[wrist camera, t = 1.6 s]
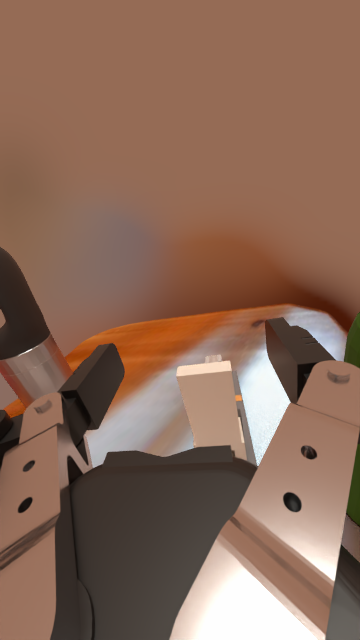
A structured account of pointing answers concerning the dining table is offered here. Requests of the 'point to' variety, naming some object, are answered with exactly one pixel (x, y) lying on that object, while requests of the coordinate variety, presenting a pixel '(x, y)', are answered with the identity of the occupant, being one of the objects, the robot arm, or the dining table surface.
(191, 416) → the peach lever handle
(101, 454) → the dining table surface
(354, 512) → the wine bottle
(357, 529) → the dining table surface
